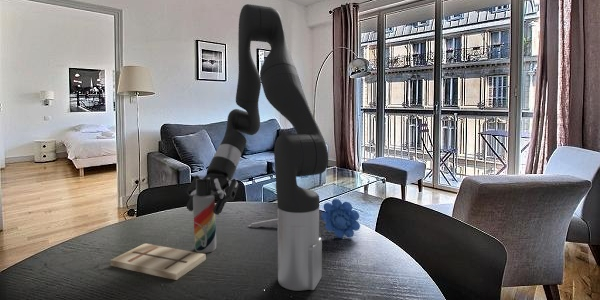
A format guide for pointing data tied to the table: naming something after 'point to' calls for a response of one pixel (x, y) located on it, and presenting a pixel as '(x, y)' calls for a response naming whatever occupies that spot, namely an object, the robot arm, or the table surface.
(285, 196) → the robot arm
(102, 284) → the table surface
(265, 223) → the caliper
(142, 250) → the oak board
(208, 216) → the lotion bottle
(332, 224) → the blue flower
